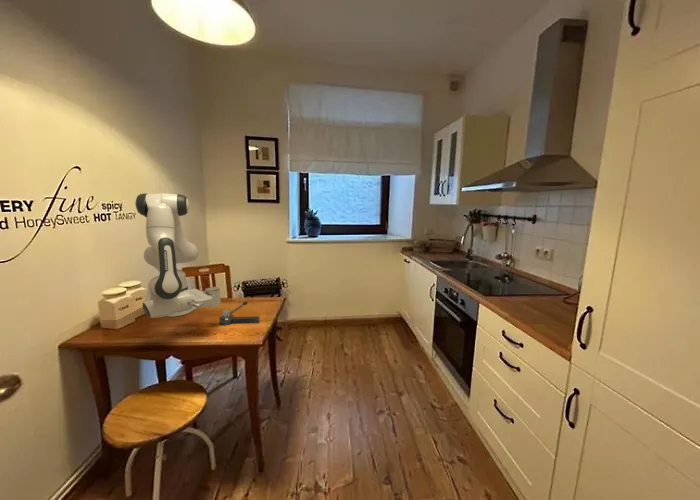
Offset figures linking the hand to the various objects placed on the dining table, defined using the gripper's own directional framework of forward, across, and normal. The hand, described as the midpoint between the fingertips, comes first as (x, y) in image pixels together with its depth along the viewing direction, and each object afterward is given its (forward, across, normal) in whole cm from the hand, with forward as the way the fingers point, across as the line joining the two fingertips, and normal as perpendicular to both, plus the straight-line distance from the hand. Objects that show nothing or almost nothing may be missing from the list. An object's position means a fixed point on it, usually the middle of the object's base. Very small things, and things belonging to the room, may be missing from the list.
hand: (214, 294), depth 153 cm
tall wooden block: (-1, 0, +5) cm, 5 cm away
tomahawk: (+18, +13, +18) cm, 28 cm away
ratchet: (+10, -5, +17) cm, 20 cm away
